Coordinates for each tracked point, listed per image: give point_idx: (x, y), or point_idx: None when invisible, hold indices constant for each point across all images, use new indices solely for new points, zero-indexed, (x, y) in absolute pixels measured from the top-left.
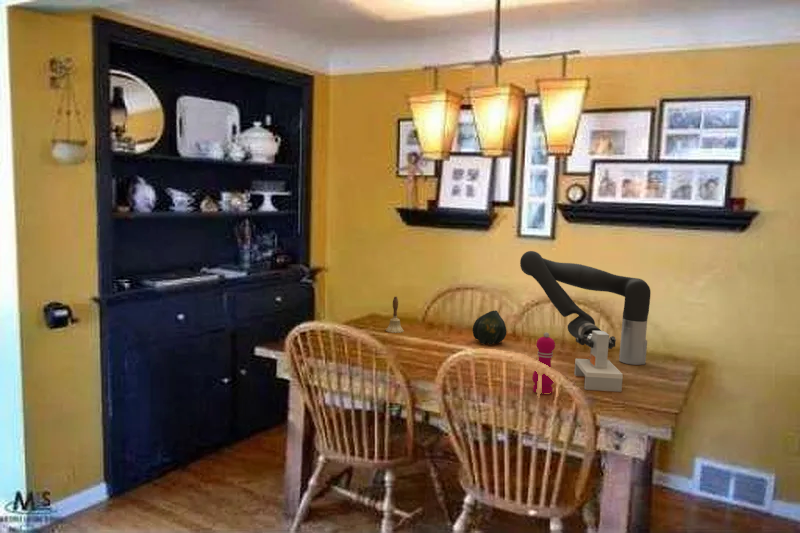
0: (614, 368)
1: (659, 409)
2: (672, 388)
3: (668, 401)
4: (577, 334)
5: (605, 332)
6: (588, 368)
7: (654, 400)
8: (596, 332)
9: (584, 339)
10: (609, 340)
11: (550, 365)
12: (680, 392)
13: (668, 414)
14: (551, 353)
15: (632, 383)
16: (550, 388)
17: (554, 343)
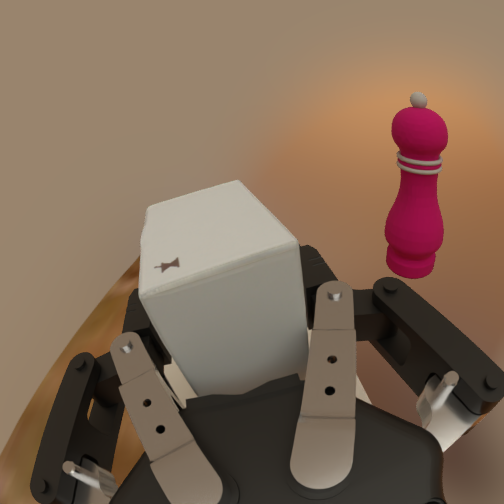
0: (177, 392)
1: (138, 280)
2: (29, 436)
3: (92, 332)
4: (495, 375)
5: (145, 243)
6: (308, 337)
7: (120, 327)
8: (246, 203)
9: (372, 296)
10: (130, 335)
11: (399, 190)
12: (29, 405)
13: (134, 266)
14: (397, 152)
15: (122, 473)
16: (389, 246)
17: (393, 122)
